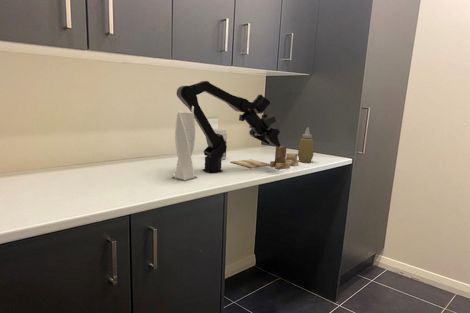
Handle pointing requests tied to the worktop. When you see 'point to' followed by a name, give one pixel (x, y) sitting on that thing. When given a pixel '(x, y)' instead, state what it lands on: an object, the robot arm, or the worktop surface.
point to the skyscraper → (185, 144)
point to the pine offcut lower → (292, 162)
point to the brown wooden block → (280, 155)
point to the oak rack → (280, 165)
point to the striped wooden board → (250, 163)
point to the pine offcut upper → (291, 156)
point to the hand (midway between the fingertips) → (274, 145)
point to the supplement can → (224, 134)
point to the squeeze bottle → (306, 147)
